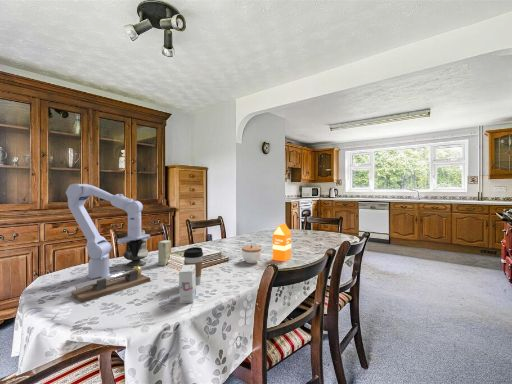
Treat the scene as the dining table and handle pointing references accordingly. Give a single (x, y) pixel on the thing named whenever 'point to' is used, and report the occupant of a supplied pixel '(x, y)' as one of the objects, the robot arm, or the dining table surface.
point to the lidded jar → (251, 253)
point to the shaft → (107, 278)
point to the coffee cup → (194, 260)
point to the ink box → (187, 284)
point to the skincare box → (164, 252)
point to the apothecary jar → (141, 253)
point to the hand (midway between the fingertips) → (134, 256)
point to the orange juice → (282, 243)
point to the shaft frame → (109, 286)
